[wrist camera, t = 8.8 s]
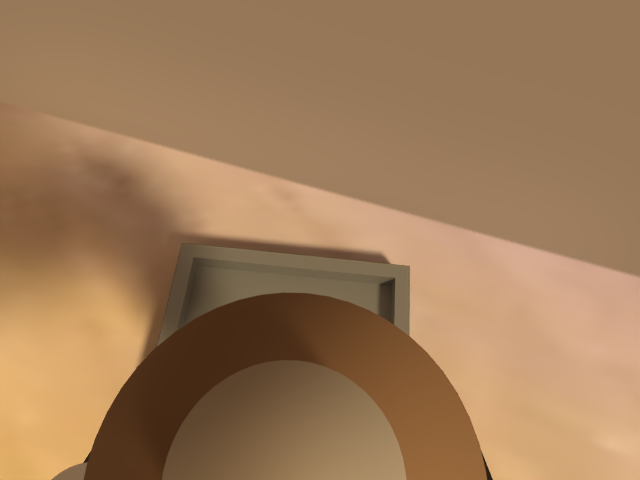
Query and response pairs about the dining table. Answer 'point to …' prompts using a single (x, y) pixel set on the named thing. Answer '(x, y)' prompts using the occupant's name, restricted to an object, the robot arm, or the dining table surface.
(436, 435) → the pepper mill
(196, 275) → the serving tray
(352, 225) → the dining table surface
